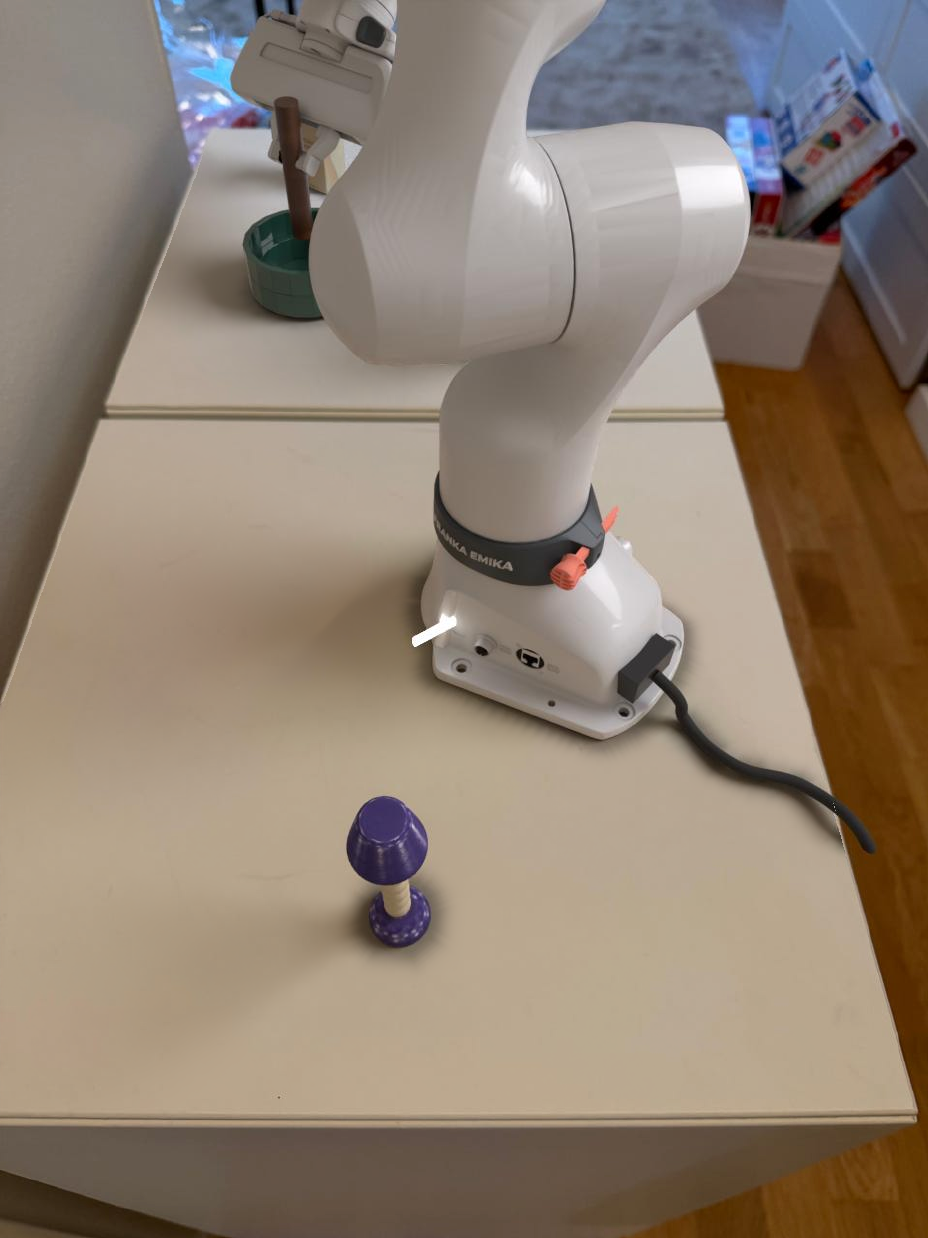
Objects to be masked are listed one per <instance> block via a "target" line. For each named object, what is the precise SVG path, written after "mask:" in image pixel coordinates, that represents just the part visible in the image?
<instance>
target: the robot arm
mask: <svg viewBox="0 0 928 1238" xmlns="http://www.w3.org/2000/svg"><path fill="white" fill-rule="evenodd" d="M606 2H607V0H302V2H301V6H300V8H299V11H298V13H297V15H295V14H289V13H286V12H285V11H284V10H280V9H272V10H271V12H267V13H265V14H264V15H262V16H259V17H258V19H257V21H256V23H255V26H254V28H253V29H252V30H251V32H250V33H249V35H248V37H247V38H246V41H245V43H244V44H243V46H242V47H241V48H242V49H241V50H240V53H239V55H238V56H237V58H236V61H235V63H234V65H233V67H232V71H231V72H230V78H229V81H230V86H231V90H232V92H233V93H234V94H236V95H237V96H238V97H239V98H240V99H242V100H243V101H244V102H246V103H247V104H249V105H251V106H254V107H256V108H259V109H262V110H264V111H266V112H269V113H271V115H270V117H269V122H270V124H269V125H270V133H271V139H272V140H271V142H270V145H269V148H268V151H267V158H268V159H269V160H271V161H272V162H274V163H276V164H279V165H281V166H283V165H282V158H281V151H280V144H279V137H278V130H277V123H276V116H275V109H274V100H275V99H277V98H279V97H284V96H290V97H294V98H296V99H297V100H298V103H299V112H300V120H301V124H304V125H307V126H309V127H312V128H315V129H317V132H316V134H315V135H316V136H317V137H318V138H319V139H318V140H317V141H316V142H315V143H314V144H313V145H312V147H311V148H310V149H309V150H308V151H307V152H308V153H307V152H305V151H302V150H301V151H300V153H299V156H298V160H297V161H296V164H295V166H296V169H298V170H299V171H300V172H302V173H304V174H306V175H309V176H311V177H314V176H315V175H316V172H317V170H318V167H319V165H320V162H321V161H323V160H324V159H325V158H326V157H327V156H329V155H330V154H331V153H332V152H333V151H334V150H335V149H336V148H337V145H338V143H339V140H340V138H341V139H344V141H346V142H350V143H352V144H354V145H357V146H360V147H361V148H360V150H359V151H358V153H357V155H356V156H355V157H354V159H353V160H352V162H351V163H350V165H349V166H348V167H347V169H346V172H345V173H344V174H343V175H342V176H341V177H340V178H339V180H338V181H337V182H336V183H335V184H334V185H333V186H332V188H331V189H330V191H329V192H328V194H325V197H324V198H323V200H322V202H321V204H320V206H319V207H318V208H319V211H318V213H317V216H316V219H315V221H314V225H313V229H312V233H311V238H310V246H309V272H310V279H311V284H312V289H313V292H314V296H315V299H316V302H317V305H318V307H319V309H320V311H321V313H322V316H321V317H322V318H323V319H324V321H325V323H326V324H327V326H328V328H329V329H330V330H331V332H332V333H333V334H334V336H335V337H336V338H337V339H338V341H339V342H340V343H342V344H343V346H344V347H345V348H346V349H347V350H348V351H350V352H351V353H352V354H353V355H354V356H356V357H357V358H358V359H360V360H361V361H363V362H364V363H366V364H368V365H373V366H410V367H411V366H446V365H453V364H457V363H462V362H466V363H465V364H464V365H462V367H461V368H460V369H459V370H458V371H457V372H456V374H455V375H454V376H453V377H452V379H451V381H450V383H449V384H448V386H447V388H446V391H445V393H444V395H443V398H442V401H441V404H440V408H439V413H438V414H439V415H438V426H439V427H438V433H439V434H438V441H439V443H438V444H439V445H438V446H439V447H438V448H439V449H438V455H439V456H438V457H439V461H438V464H439V468H438V471H437V473H436V476H435V478H434V484H433V511H432V512H433V515H432V516H433V527H434V531H435V535H436V543H435V544H436V545H435V550H434V557H433V562H432V565H431V568H430V572H429V575H428V577H427V578H426V580H425V582H424V585H423V589H422V591H421V597H420V613H421V618H422V621H423V624H424V627H425V629H426V630H425V631H423V632H421V633H419V634H417V635H414V636H413V637H412V645H413V646H414V647H417V646H419V645H421V644H423V643H425V642H427V641H429V640H431V644H432V659H431V661H432V662H431V663H432V664H431V665H432V670H433V674H434V675H435V677H436V678H437V679H439V680H441V681H443V682H444V683H445V682H446V683H447V684H450V685H452V686H456V687H458V688H460V689H464V690H466V691H469V692H471V693H473V694H477V695H479V696H481V697H484V698H487V699H490V700H493V701H495V702H497V703H500V704H502V705H505V706H508V707H510V708H514V709H516V710H518V711H522V712H523V713H526V714H528V715H531V716H534V717H537V718H540V719H542V720H544V721H547V722H550V723H553V724H555V725H558V726H561V727H563V728H566V729H569V730H572V731H573V732H576V733H579V734H582V735H584V736H587V737H590V738H593V739H596V740H602V741H603V740H607V739H610V738H613V737H616V736H618V735H621V734H622V733H624V732H626V731H627V730H629V729H631V728H632V727H634V725H637V723H639V722H640V721H642V719H643V718H644V717H645V716H647V714H648V713H649V712H650V711H651V710H652V709H653V708H654V706H655V705H656V704H657V703H658V701H659V700H660V699H661V697H662V696H663V694H665V695H666V696H667V697H668V698H669V699H670V700H671V702H672V703H673V705H674V707H675V708H674V709H675V710H674V713H675V716H676V719H677V721H678V723H679V724H680V725H681V727H682V728H683V730H684V731H685V732H686V734H687V735H688V736H689V738H690V739H691V740H692V741H693V742H694V743H695V744H696V745H697V746H698V748H700V749H701V751H703V752H704V753H706V754H707V755H708V756H709V757H710V758H712V759H713V760H714V761H716V762H718V763H719V764H721V765H722V766H724V767H725V768H727V769H728V770H730V771H733V772H734V773H736V774H738V775H741V776H743V777H746V778H749V779H753V780H756V781H757V780H758V781H761V782H767V783H773V784H778V785H783V786H787V787H789V788H792V789H795V790H797V791H799V792H801V793H803V794H805V795H806V796H808V797H810V798H811V799H813V800H815V801H816V802H818V803H819V804H821V805H823V806H824V807H825V808H827V809H828V810H829V811H831V812H832V813H833V814H835V816H837V817H838V818H839V819H840V820H841V821H842V822H843V823H844V824H845V825H846V826H847V827H848V829H849V830H850V831H851V833H853V836H854V837H855V838H856V839H857V841H858V843H859V846H860V847H861V849H862V850H863V851H864V852H865V853H867V854H870V855H873V854H876V853H877V846H876V843H875V841H874V839H873V838H872V835H871V833H870V832H869V831H868V829H867V828H866V826H865V825H864V824H863V822H862V821H861V820H860V818H859V817H858V816H856V814H855V813H854V812H853V810H851V809H849V807H848V806H846V805H845V804H844V803H843V802H841V800H839V799H837V798H836V797H835V796H833V794H830V793H829V792H827V791H825V790H824V789H822V788H821V787H819V786H817V785H815V784H814V783H812V782H810V781H809V780H806V779H804V778H802V777H801V776H800V777H799V776H798V775H795V774H792V773H788V772H784V771H781V770H780V771H779V770H774V769H770V768H763V767H759V766H755V765H751V764H749V763H746V762H743V761H741V760H740V759H738V758H735V757H734V756H732V755H731V754H729V753H728V752H726V751H724V750H723V749H721V748H720V747H719V746H718V745H716V743H713V741H712V740H710V739H709V738H708V737H707V736H706V735H705V734H704V733H703V732H702V730H700V728H699V727H698V725H697V724H696V722H695V721H694V720H693V719H692V717H691V716H690V714H689V704H688V702H687V699H686V697H685V696H684V694H683V693H682V691H681V690H680V689H679V688H678V687H677V685H676V684H674V682H672V681H673V678H674V676H675V674H676V672H677V670H678V667H679V665H680V661H681V659H682V655H683V654H682V653H683V648H684V642H685V633H684V625H683V621H682V620H681V619H680V618H679V617H678V616H677V615H676V614H675V613H673V612H672V611H671V610H669V609H668V608H666V607H665V606H664V605H663V596H662V593H661V588H660V586H659V584H658V582H657V581H656V579H655V578H654V577H653V576H652V575H651V574H650V572H648V571H647V570H646V568H644V567H643V566H642V564H641V563H640V562H639V561H638V560H637V559H636V558H635V557H634V548H633V545H632V544H631V542H630V541H629V540H628V539H626V538H625V537H623V536H620V535H619V536H614V534H613V533H612V532H611V531H610V530H611V528H613V526H614V524H615V522H616V519H617V516H618V510H619V508H620V507H619V506H618V505H615V506H614V507H613V508H612V510H611V511H610V512H609V513H608V515H607V516H605V518H604V520H603V517H602V513H601V510H600V507H599V502H598V500H597V496H596V492H595V490H594V489H595V488H594V487H593V483H592V480H593V475H594V470H595V465H596V463H597V457H598V454H599V449H600V445H601V441H602V437H603V434H604V431H605V427H606V424H607V422H608V420H609V417H610V415H611V414H612V412H613V410H614V407H615V406H616V404H617V403H618V401H619V400H620V397H621V396H622V395H623V393H624V392H625V389H626V388H627V386H628V385H629V384H630V383H631V381H632V379H633V378H634V376H635V375H636V374H637V373H638V371H639V370H640V368H641V367H642V366H643V364H644V363H645V362H646V360H647V359H648V358H649V357H650V356H651V354H652V353H653V352H654V351H655V350H656V348H657V347H658V346H659V345H660V344H661V342H662V341H664V339H665V338H666V337H667V336H668V335H669V334H670V333H671V332H672V331H673V330H674V329H675V328H676V327H677V325H679V324H680V323H681V322H682V321H683V320H684V319H686V317H688V316H689V315H690V314H692V313H693V312H694V311H695V310H696V309H697V308H699V307H700V306H701V305H703V304H705V302H707V301H708V300H710V299H711V298H713V297H714V296H715V295H717V294H719V293H720V292H721V291H722V290H723V289H724V288H725V287H726V286H727V285H728V284H729V283H730V281H731V280H732V278H733V277H734V274H735V273H736V271H737V269H738V267H739V265H740V263H741V261H742V258H743V255H744V253H745V250H746V246H747V243H748V240H749V235H750V234H749V233H750V226H751V218H752V217H751V216H752V215H751V214H752V213H751V210H752V209H751V196H750V189H749V186H748V182H747V179H746V175H745V173H744V170H743V167H742V165H741V163H740V161H739V160H738V158H737V156H736V154H735V152H734V151H733V149H732V148H731V147H730V145H729V144H728V143H727V141H726V140H725V139H724V138H723V137H722V136H721V135H720V134H718V132H716V131H714V130H713V129H711V128H708V127H703V126H695V125H686V124H678V123H670V122H669V123H668V122H654V121H653V122H652V121H638V120H637V121H636V120H632V121H631V120H630V121H625V122H617V123H613V124H606V125H600V126H593V127H587V128H580V129H573V130H567V131H561V132H555V133H550V134H549V133H548V134H542V135H538V136H537V135H536V136H528V135H527V114H528V107H529V101H530V97H531V92H532V89H533V87H534V84H535V81H536V79H537V76H538V74H539V72H540V70H541V68H542V66H543V65H544V64H546V63H547V62H549V61H550V60H551V59H553V58H554V57H555V56H556V55H557V54H559V53H560V52H561V51H563V50H564V49H565V48H566V47H567V46H569V45H570V44H571V43H573V42H574V41H575V40H576V39H577V38H578V37H579V36H580V35H581V34H582V33H584V32H585V31H586V30H587V29H588V28H589V27H590V26H591V24H592V23H593V22H594V21H595V20H596V18H597V17H598V16H599V14H600V12H601V11H602V10H603V8H604V6H605V4H606ZM395 23H396V32H394V30H393V28H394V26H395ZM459 670H464V671H463V672H460V671H459ZM620 713H624V714H626V715H627V716H623V715H621V714H620ZM833 803H834V804H833ZM834 806H835V808H834ZM835 810H836V811H835Z"/></svg>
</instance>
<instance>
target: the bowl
mask: <svg viewBox="0 0 928 1238" xmlns="http://www.w3.org/2000/svg"><path fill="white" fill-rule="evenodd" d="M319 208H320V207H311V211H312V219H313V225H314V221H315V219H316V216H317V213H318V211H319ZM241 245H242V246H241V247H242V252H243V256H244V261H245V266H246V271H247V277H248V282H249V287H250V291H251V294H252V296H253V298H254V300H256V301H257V302H258V303H259V304H260V305H261V306H262V307H263V308H265V309H266V310H269V311H271V312H274V313H275V314H278V315H283V316H287V317H291V318H319V317H323V316H322V313H321V311H320V309H319V307H318V305H317V302H316V299H315V296H314V292H313V289H312V284H311V279H310V272H309V246H310V239H308V240H297V239H295V238H294V237H293V235H292V229H291V222H290V215H289V208H288V209H282V210H279V211H276V212H274V213H270V214H267V215H265V216H263V217H261V218H260V219H258V220H256V221H255V222H254V223H252V225H250V226H249V228H248V229H247V230H246V231H245V233H244V236H243V239H242V244H241Z"/></svg>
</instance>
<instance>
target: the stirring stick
mask: <svg viewBox="0 0 928 1238" xmlns="http://www.w3.org/2000/svg"><path fill="white" fill-rule="evenodd" d="M274 109H275V116H276V123H277V130H278V137H279V144H280V151H281V158H282V165H281V166H282V172H283V179H284V185H285V192H286V199H287V206H288V209H289V215H290V222H291V229H292V235H293V237H294V238H295V239H297V240H308V239H310V238H311V233H312V229H313V219H312V211H311V208H312V204H311V196H310V187H309V186H308V178H307V175H306V174H304V173H302V172H300V171H299V170H298V169H296V166H295V164H296V161H297V160H298V156H299V153H300V151H301V150H302V151H304V145H303V136H302V128H301V120H300V112H299V103H298V100H297V99H296V98H294V97H290V96H284V97H279V98H277V99H275V100H274Z"/></svg>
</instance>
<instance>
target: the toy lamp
mask: <svg viewBox="0 0 928 1238" xmlns="http://www.w3.org/2000/svg"><path fill="white" fill-rule="evenodd" d="M428 849H429V838H428V834H427V830H426V829H425V826H424V824H423V823H422V821H421V820H420V819H419V817H418V816H417V815H416V814H415V813H414V812H413V810H412V809H411V808H410V807H409V806H407V804H406V803H405V802H403V801H402V800H400V799H398V798H396V797H393V796H391V795H390V796H389V795H381V796H376V797H375V796H374V797H373V798H371V799H369V800H367V801H366V802H365V803H363V805H362V806H361V807H360V808H359V810H358V811H357V813H356V815H355V817H354V819H353V822H352V823H351V826H350V828H349V831H348V834H347V836H346V845H345V850H346V851H345V852H346V856H347V860H348V862H349V864H350V866H351V868H352V870H353V871H354V872H355V874H357V876H359V877H360V878H361V879H363V880H365V881H366V882H368V883H371V884H373V885H377V886H380V891H379V892H378V893H377V894H376V895H375V896H374V898H373V900H372V901H371V904H370V906H369V911H368V924H369V928H370V930H371V932H372V933H373V935H374V936H375V937H376V939H378V940H379V942H381V943H382V944H384V945H386V946H388V947H392V948H406V947H409V946H411V945H414V944H415V943H417V942H419V941H420V940H421V939H422V938H423V937H424V935H425V934H426V933H427V931H428V929H429V926H430V924H431V919H432V912H431V911H432V910H431V906H430V903H429V901H428V899H427V898H426V896H425V894H424V893H423V892H422V891H420V889H418V888H417V887H415V886H413V885H410V883H409V882H410V879H411V878H412V877H413V876H415V875H416V874H417V873H418V871H420V869H421V868H422V866H423V864H424V863H425V861H426V859H427V855H428Z"/></svg>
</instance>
